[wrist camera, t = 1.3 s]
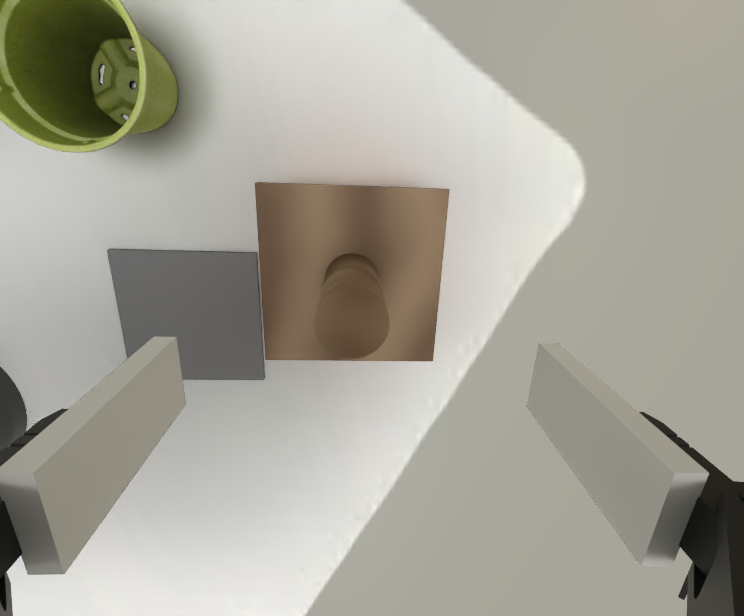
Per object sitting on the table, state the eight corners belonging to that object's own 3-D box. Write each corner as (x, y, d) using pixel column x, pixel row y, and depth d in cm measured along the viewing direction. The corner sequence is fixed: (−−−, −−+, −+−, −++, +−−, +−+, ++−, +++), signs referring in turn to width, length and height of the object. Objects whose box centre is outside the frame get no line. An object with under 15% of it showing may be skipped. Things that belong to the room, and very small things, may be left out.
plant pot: (192, 172, 31) (136, 174, 23) (64, 134, 30) (-43, 121, 22) (211, 39, 28) (155, -13, 20) (71, -10, 27) (-50, -86, 19)
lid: (268, 353, 29) (234, 430, 21) (258, 182, 25) (211, 190, 17) (429, 355, 30) (461, 429, 21) (445, 188, 26) (492, 199, 17)
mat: (133, 376, 37) (131, 379, 36) (109, 248, 33) (106, 249, 32) (264, 377, 38) (263, 379, 37) (256, 252, 34) (255, 253, 33)
